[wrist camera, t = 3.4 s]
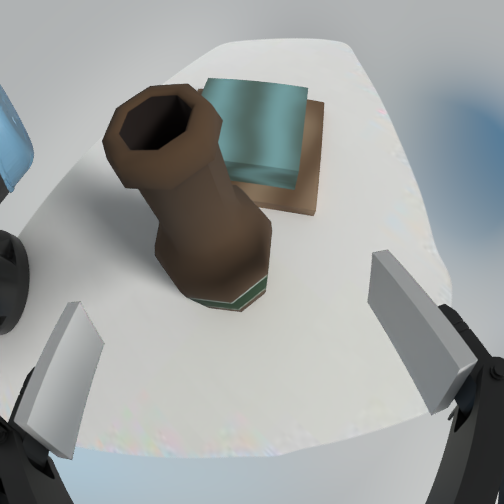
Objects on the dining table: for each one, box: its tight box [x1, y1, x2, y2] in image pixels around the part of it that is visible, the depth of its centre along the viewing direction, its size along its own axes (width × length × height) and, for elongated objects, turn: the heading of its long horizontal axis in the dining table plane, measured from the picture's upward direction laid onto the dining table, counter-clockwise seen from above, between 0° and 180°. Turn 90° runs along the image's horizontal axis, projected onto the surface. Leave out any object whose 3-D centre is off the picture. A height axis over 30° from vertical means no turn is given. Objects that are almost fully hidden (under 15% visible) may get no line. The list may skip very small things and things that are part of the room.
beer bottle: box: [102, 84, 272, 312], centre depth 19 cm, size 8×8×24 cm
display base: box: [198, 78, 324, 216], centre depth 32 cm, size 17×16×6 cm
